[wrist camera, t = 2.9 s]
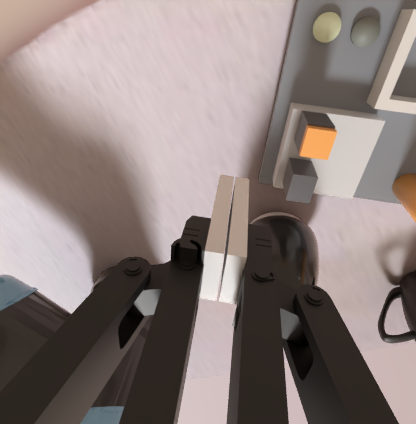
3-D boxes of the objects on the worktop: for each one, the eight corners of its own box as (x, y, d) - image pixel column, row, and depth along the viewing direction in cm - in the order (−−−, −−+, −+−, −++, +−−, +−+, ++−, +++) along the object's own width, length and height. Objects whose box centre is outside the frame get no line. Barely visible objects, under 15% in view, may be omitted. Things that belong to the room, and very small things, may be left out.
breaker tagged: (293, 139, 32) (299, 158, 28) (301, 110, 30) (308, 125, 26) (317, 143, 31) (327, 162, 27) (326, 113, 30) (338, 129, 26)
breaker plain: (282, 182, 34) (285, 200, 31) (289, 157, 33) (293, 174, 29) (303, 185, 34) (309, 203, 31) (311, 160, 33) (318, 177, 29)
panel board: (258, 177, 39) (258, 192, 36) (300, -16, 28) (306, -19, 25) (417, 200, 38) (432, 218, 35) (526, 10, 27) (564, 10, 24)
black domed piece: (269, 268, 47) (274, 361, 35) (224, 226, 44) (213, 311, 31) (327, 236, 43) (358, 330, 30) (283, 186, 39) (297, 268, 27)
